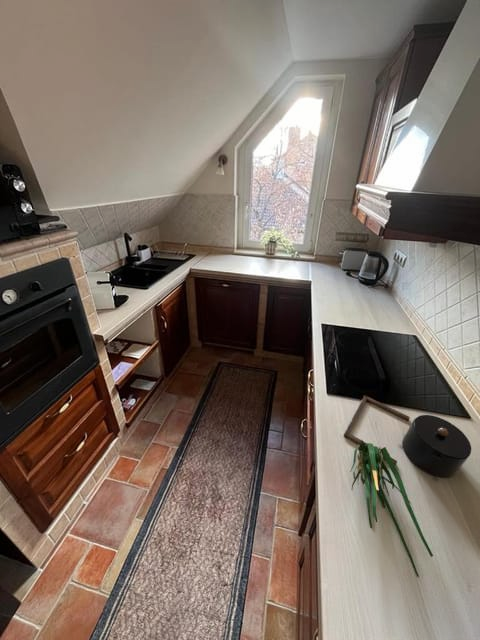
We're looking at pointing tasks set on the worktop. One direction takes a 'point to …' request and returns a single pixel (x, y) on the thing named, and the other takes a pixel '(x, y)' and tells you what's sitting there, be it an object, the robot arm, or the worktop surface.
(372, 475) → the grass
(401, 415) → the brown bent strip
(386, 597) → the worktop surface
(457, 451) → the pot
